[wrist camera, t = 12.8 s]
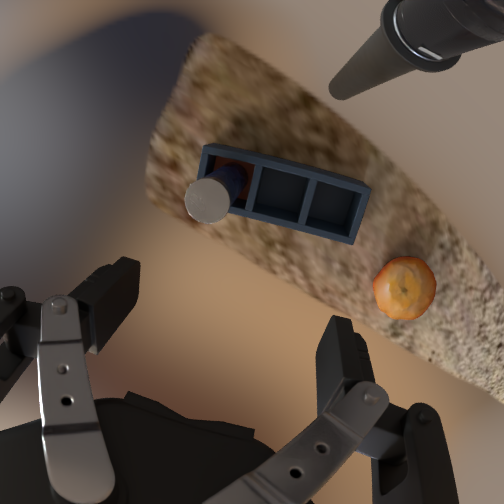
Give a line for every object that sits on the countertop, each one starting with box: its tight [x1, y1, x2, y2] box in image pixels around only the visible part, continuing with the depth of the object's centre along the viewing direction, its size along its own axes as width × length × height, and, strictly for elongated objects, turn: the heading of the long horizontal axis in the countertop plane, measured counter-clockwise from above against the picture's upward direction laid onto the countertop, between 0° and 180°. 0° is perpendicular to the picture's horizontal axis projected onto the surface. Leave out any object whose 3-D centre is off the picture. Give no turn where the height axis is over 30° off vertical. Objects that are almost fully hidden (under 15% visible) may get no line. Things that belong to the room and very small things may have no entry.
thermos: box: [185, 162, 248, 224], centre depth 31 cm, size 4×4×12 cm
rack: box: [196, 143, 371, 245], centre depth 35 cm, size 7×18×4 cm, turn 77°
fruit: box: [373, 256, 436, 320], centre depth 37 cm, size 8×8×8 cm
